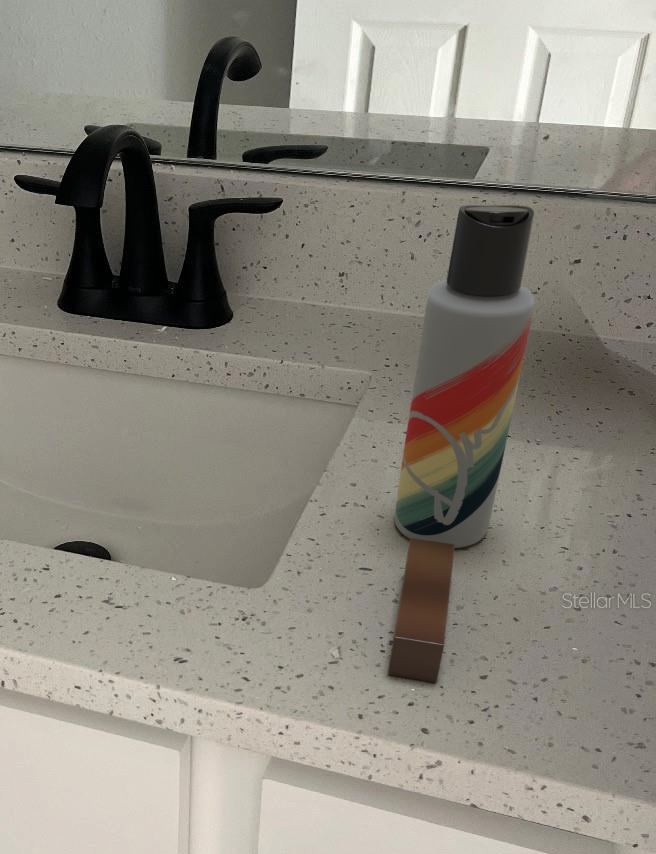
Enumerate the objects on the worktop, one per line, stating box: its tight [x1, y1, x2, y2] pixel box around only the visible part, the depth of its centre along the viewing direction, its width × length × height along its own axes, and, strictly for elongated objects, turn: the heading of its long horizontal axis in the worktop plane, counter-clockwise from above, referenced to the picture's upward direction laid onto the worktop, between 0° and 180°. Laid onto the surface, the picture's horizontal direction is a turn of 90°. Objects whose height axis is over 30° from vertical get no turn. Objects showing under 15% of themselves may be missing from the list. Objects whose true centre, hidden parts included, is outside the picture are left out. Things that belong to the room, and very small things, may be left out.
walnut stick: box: [387, 538, 456, 683], centre depth 66 cm, size 10×2×2 cm, turn 162°
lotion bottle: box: [394, 204, 535, 549], centre depth 69 cm, size 6×6×20 cm
